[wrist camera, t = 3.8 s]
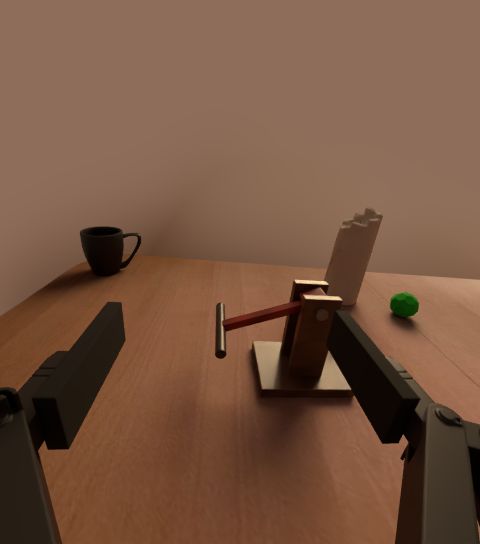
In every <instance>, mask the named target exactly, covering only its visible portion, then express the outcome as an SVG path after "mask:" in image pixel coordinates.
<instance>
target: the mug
mask: <svg viewBox="0 0 480 544" xmlns="http://www.w3.org/2000/svg"><path fill="white" fill-rule="evenodd" d="M80 236H81V243H82V248H83V251H84V254H85V257H86V259H87V261H88V263H89V265H90V267H91V269H92V271H93V273H94V274H95V275H99V276H108V275H113V274H116V273H118V272H119V271H120V269H122V268H125V267H126V266H127V265H128V264H129V263H130V261H131V260H132V258H133V257H134V255H135V253H136V252H137V250H138V248H139V246H140V244H141V235H140V234H139V233H127V234H123V232H122V230H121V229H119V228H114V227H91V228H87V229H83V230H81V232H80ZM128 236H137V237H138V242H137V245H136V247H135V249H134V251H133V253H132V254H131V256H130V257H129V258H128V259H127V260H126V261H125V262H122V257H123V247H124V244H123V238H125V237H128Z"/></svg>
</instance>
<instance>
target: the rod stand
mask: <svg viewBox="0 0 480 544" xmlns="http://www.w3.org/2000/svg"><path fill="white" fill-rule="evenodd" d="M328 287H329V284H328V283H327V282H324V281H305V280H294V282H293V287H292V292H291V297H290V302H289V303H291V302H295V301H299V300H300V296H299V293H301V292H305V291H309V290H313V289H317V288H321V289H322V290H323V292H324V293H325V294H326V295H327V291H328ZM342 302H343V300H342V299H341V298H340V297H336V296H315V295H303V298H302V303H301V307H300V312H298V313H294V314H291V315H287V318H286V323H285V328H284V333H283V339H282V342H266V341H253V344H252V350H253V356H254V362H255V368H256V373H257V379H258V385H259V391H260V396H261V397H353V396H354V394H353V392H352V390H351V388H350V387H349V385H348V383H347V381H346V380H345V378H344V376H343V374H342V373H341V371H340V369H339V367H338V366H337V364H336V362H335V361H334V359H333V357H332V355H331V354H330V352H329V350H328V348H327V347H326V342H327V338H328V335H329V331H330V327H331V324H332V320H333V316H334V313H335V311H340V309H341V305H342Z"/></svg>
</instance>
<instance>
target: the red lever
mask: <svg viewBox="0 0 480 544" xmlns="http://www.w3.org/2000/svg"><path fill="white" fill-rule="evenodd" d="M303 295H315V296H327V295H326V294H325V293H324V292H323V290H322V289H321V288H317V289H313V290H309V291H305V292H301V293H299V296H300V300H299V301H295V302H291V303H287V304H283V305H280V306H276V307H272V308H268V309H265V310H261V311H257V312H253V313H249V314H246V315H242V316H238V317H234V318H230V319H227V320H225V305H224V304H223V303H218V304H217V305H216V341H215V356H216V357H217V358H219V359H222V358H224V357H225V356H226V331H230V330H233V329H237V328H241V327H245V326H249V325H253V324H256V323H260V322H264V321H268V320H272V319H275V318H279V317H283V316H287V315H291V314H294V313H298V312H300V307H301V303H302V298H303Z"/></svg>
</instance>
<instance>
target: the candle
mask: <svg viewBox="0 0 480 544" xmlns="http://www.w3.org/2000/svg"><path fill="white" fill-rule="evenodd" d="M382 217H383V216H382V214H381V213H379V212H378V211H376V210H374V209H372V208H369V207H367V208H366V209H365V213H364V214H359V213H356V214H355V216H354V217H353V218H352V219H346V220H344V221H343V224H342V225H341V227H340V230H339V232H338V235H337V238H336V241H335V245H334V249H333V252H332V256H331V260H330V263H329V266H328V269H327V272H326V275H325V279H324V282H327V283H328V284H329V287H328V291H327V296H336V297H340V298H341V299H342V300H343V302H342V305H353V304H355V303H356V300H357V297H358V294H359V291H360V287H361V284H362V281H363V278H364V274H365V271H366V268H367V265H368V262H369V259H370V256H371V252H372V249H373V246H374V242H375V239H376V236H377V233H378V230H379V227H380V223H381V220H382Z"/></svg>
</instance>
